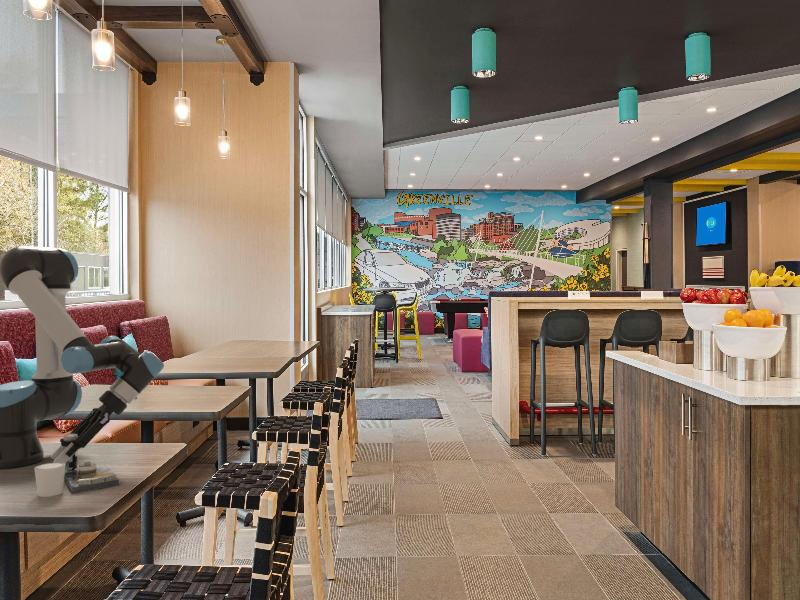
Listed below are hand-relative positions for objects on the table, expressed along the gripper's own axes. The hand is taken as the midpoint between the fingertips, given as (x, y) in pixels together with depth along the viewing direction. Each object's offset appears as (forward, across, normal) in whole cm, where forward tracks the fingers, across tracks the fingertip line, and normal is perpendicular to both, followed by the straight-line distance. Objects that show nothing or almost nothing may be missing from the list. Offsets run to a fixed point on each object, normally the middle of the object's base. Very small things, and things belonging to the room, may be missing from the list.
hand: (55, 462), depth 177 cm
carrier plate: (-2, -13, -7) cm, 15 cm away
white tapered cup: (+5, -17, 0) cm, 18 cm away
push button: (0, 0, -5) cm, 5 cm away
